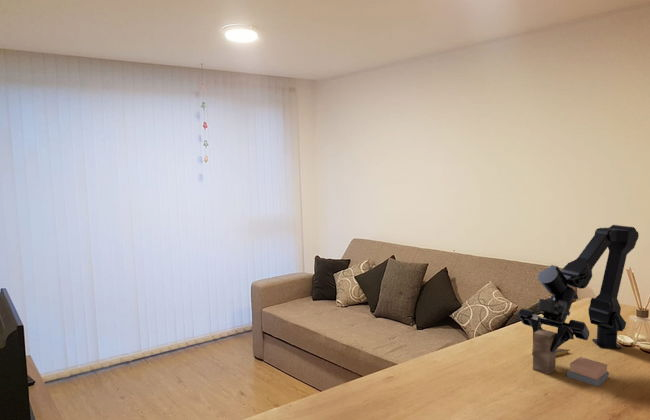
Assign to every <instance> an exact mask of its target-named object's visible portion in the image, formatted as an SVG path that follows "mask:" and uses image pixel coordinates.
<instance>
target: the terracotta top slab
mask: <svg viewBox="0 0 650 420" xmlns="http://www.w3.org/2000/svg"><path fill="white" fill-rule="evenodd" d="M569 369H570V371H571V372H574V373H577V374H580V375H583V376H586V377H589V378H592V379H595V380H597V379H599V378H600V377H601V376H603V375H604V374H605V373H607V372H608V364H607V363H603V362H600V361H597V360H594V359H590V358H586V357H583V356H580V357H578V358H576V359H575V360H573V361H572V362H570V363H569Z"/></svg>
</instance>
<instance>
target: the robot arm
mask: <svg viewBox="0 0 650 420" xmlns="http://www.w3.org/2000/svg"><path fill="white" fill-rule="evenodd" d="M639 234H640V233H639V231H637V229H636V228H635V227H634V226H626V225H620V224H619V225H618V224H613V225H611V226H609V227H598V228H596V229H595V231H594V235H593V237H591V239H590V240H589V242H588V243H587V244H586V246H585V247H584V248H583V250H582V251H581V253H580V254H579V256H578V257H576V258H575V259H574V260H572V261H570V262H567V264H566V265H565V266H563V268H562V269H560V268H559V266H557V265H553V264H550V267H547V268H544V269H543V270H541V271H539V272H538V275H537V280H538V282H540V284H541V285H542V286H543V287H544V289H545V290H546V291H547V293H549V294H551V296H550V299H549V298H548V299H544V298H539V301H538V306H537V310H539V311H540V314H541V315H542V316H540V315H538V314H536V311H534V310H532V309H528V308H524V307H522V308H520V309H519V310H518V312H517V317H518V318H519V320H520V322H521V323H522V324H523V325H524V326H527V327H531V328H532V345H533V344H534V332H536V331H538V330H540V329H543V328H542V326H543V325H545V326H549V327H553V328H557V331H556V333H557V334H556V336H555V339H554V341H553V343H552V345H551V349H550V351H551V352H553V351H555V350H556V349H557V348H560V346H562V345H563V344H565V343H566V342H567V341H569V340H575V339H574V338H576V339H579V340H583V341H588V340H589V337H590V329H589V328H588V326H587V325H586V323H585V322H584V321H579V320H576V319H575V320H574V319H570V320H569V322H566V320H567V317H568V316H570V314H571V312H570V310H571V307H572V305H573V302H574V300H578V299H579V296H578V294H577V292H576V289H574V288H577V289H582V290H583V289H585V288H587V287H588V285H589V284H590V281H591V280H592V277H593V269H594V267H595V265H596V264H597V262H599V260H600V259H601V257H602V256H603V254H604V253H605V251H606V250H607V249H608V256H607V260H606V264H605V267H604V268H605V269H604V273H603V277H602V282H601V286H600V290H599V293H598V295H597V296H596V297H592V298H591V299H590V302H589V306H588V309H587V310H588V316H589V323H590V324H591V325H596V338H592V342H594V344H596V345H597V346H598V348H601V349H602V348H603V349H622V346H621V345H620V344H619V343H618V332H623V331H624V330H625V329H626V326H627V322H626V321H625V319H624V318H623V316H622V315H621V309H622V308H621V304H620V302H619V299H618V296H619V291H620V287H621V283H622V278H623V273H624V269H625V265H626V260H627V255H628V254H629V253H630V252H631V251H632V250H634V249H635V247H636V245H637V241H638V240H639Z"/></svg>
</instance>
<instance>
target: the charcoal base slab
mask: <svg viewBox="0 0 650 420" xmlns="http://www.w3.org/2000/svg"><path fill="white" fill-rule="evenodd" d="M609 375H610V371H607V373H605V374H604V375H603V376H601V377H600V378H599V379H597V380H595V379H592V378H589V377H586V376H583V375H580V374H577V373H574V372H571V371H570V368H569V369H568V370H567V371H566V378H569V379H572V380H576V381H578V382H582V383H586V384H588V385H590V386H595V387H600V386H601V385H602V384H603V383H604V382H605V381H607V379H609Z"/></svg>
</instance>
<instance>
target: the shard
mask: <svg viewBox="0 0 650 420" xmlns="http://www.w3.org/2000/svg"><path fill="white" fill-rule="evenodd" d="M569 351H571V350H570V349H567V348H566V349H565V348H560V347H558V348H557V349H556V357H558V356H562V355H566V354H568V353H569ZM531 355H533V345H532V346H531Z"/></svg>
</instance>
